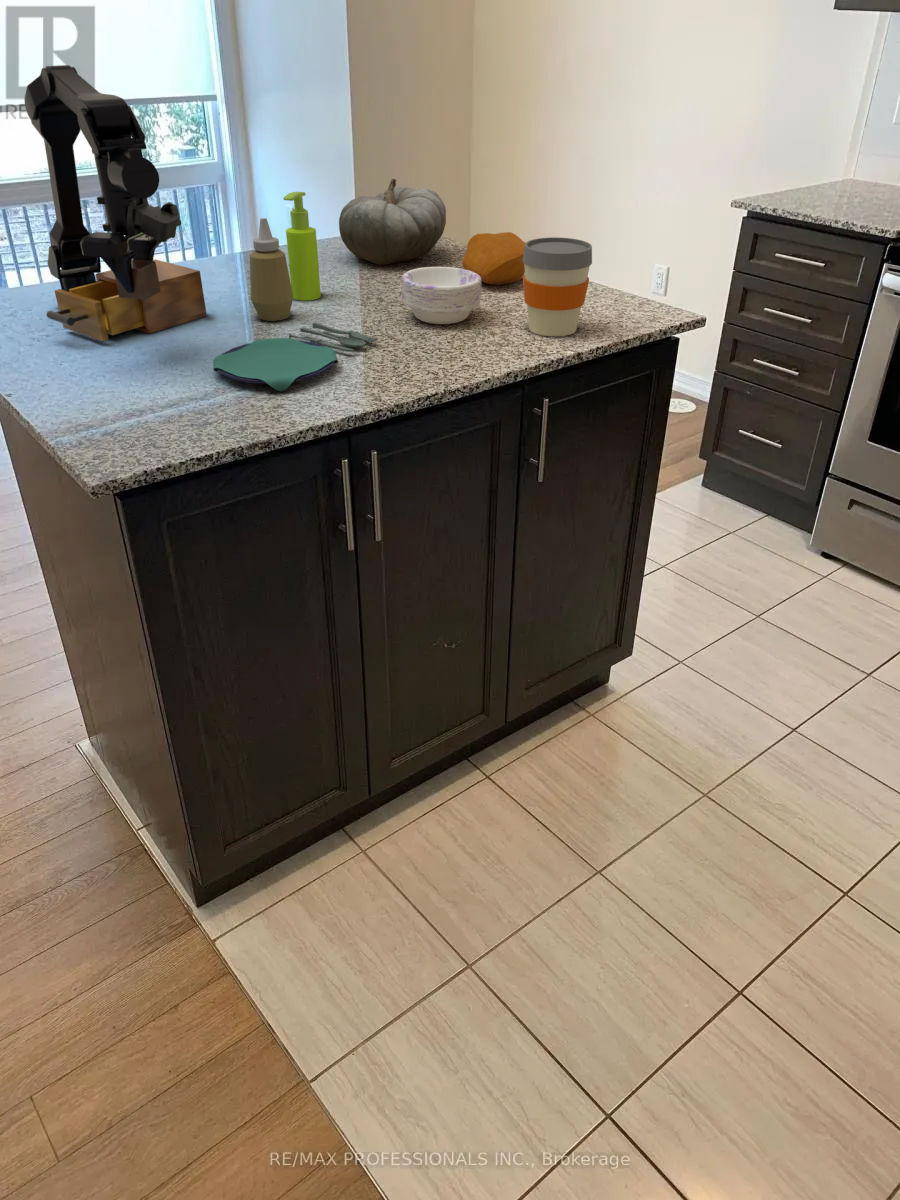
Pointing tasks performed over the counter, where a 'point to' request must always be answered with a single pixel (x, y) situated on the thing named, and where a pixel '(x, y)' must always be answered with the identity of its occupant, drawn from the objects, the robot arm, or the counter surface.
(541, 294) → the reusable coffee cup
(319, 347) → the cutlery set
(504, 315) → the counter surface
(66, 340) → the counter surface
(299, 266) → the soap dispenser
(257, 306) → the squeeze bottle
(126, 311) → the drawer
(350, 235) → the gourd
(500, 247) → the bread
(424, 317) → the paper bowls
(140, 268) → the block
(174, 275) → the cabinet
